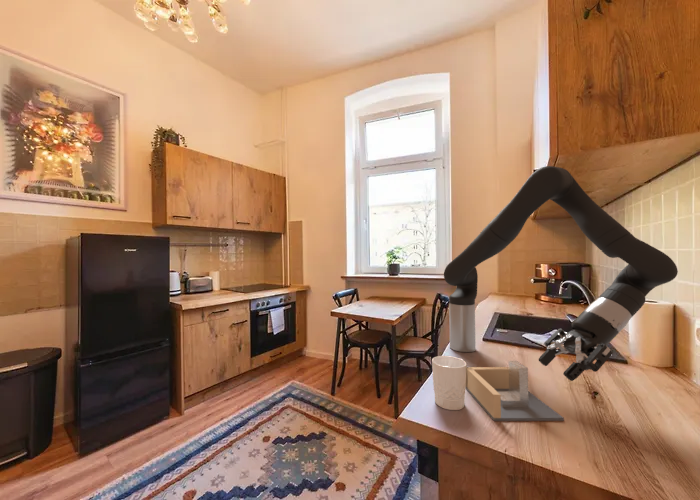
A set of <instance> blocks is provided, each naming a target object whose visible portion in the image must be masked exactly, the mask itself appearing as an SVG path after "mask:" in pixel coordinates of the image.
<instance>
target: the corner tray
mask: <svg viewBox="0 0 700 500" xmlns="http://www.w3.org/2000/svg"><path fill="white" fill-rule="evenodd" d="M465 390H466V391H467V392H468V393H469V394H470V395H471V396H472V398H473V399H474V400H475V401H476V402H477V403H478V404H479V405H480V407H481V408H482V409H483V410H484V411H485V412H486V413H487V415H488V416H489V417H490V418H491V419H492V420H493V421H494V422H537V421H539V422H546V421H547V422H548V421H549V422H550V421H551V422H553V421H554V422H555V421H556V422H559V421H560V422H562V421H565V418H564V417H563V416H562V415H561V414H559V413H558V412H557V411H555V410H554V409H553V408H551V407H550V406H549V405H547V403H545V402H543V401H542V400H541V399H540V398H538V396H536V395H535V394H533V393H532V392H530V391H529V390H528V398H529V407H502V406H501V395H500V394H499V393H498V392H506V391H509V366H495V367H494V366H487V367H483V366H478V367H477V366H472V367H471V366H469V367H467V366H466V387H465Z"/></svg>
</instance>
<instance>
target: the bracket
mask: <svg viewBox="0 0 700 500" xmlns="http://www.w3.org/2000/svg"><path fill="white" fill-rule="evenodd" d="M508 367H509V391H506V392H498V393H499V394H500V395H501V406H502V407H529V398H528V391H529V368H528V366H526V365H525V364H523V363H521V362H520V361H517V360H508Z"/></svg>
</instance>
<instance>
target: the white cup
mask: <svg viewBox="0 0 700 500" xmlns="http://www.w3.org/2000/svg"><path fill="white" fill-rule="evenodd" d="M431 367H432V381H433V382H432V385H433V392H434V393H433V394H434V403H435V404H436V405H437V406H439V407H440V408H442V409H444V410H448V411H458V410H463V408H464V407H465V394H466V367H467V362H466V361H465V360H464V359H462V358H458V357H455V356H450V355H438V356H434V357H432V359H431Z"/></svg>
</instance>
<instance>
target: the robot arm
mask: <svg viewBox="0 0 700 500" xmlns="http://www.w3.org/2000/svg"><path fill="white" fill-rule="evenodd" d="M549 200H550V201H552V202H554V203H555V204H557V205H558V206H560V207H561V208H562V209H563V210H564V211H565V212H567V214H569V215H570V217H571V218H572V219H573V220H574V222H575V223H576V225H577V226H578V228H579V229H580V231H581V232H582V234H584V235H585V236H586V238H587V239H588V240H589V241H590V242H591V243H592V244H593V245H594V246H595V247H597V248H598V250H599V251H601V252H602V253H603V254H604V255H605V256H607V257H609V258H611V259H617V258H619V259H620V260H622V261H624V262H625V263H627V265H626V266H625V267H624V268H623V269H622V270H620V272H618V274H617V275H616V277H615V278H614V280H613V281H612V283H611V284H610V286H608V287H607V288H606V289H605V290H604V291H603V292H602V293H601V294H600V295H599V296H598V297H597V298H596V299H595V300H593V301H592V302H591V303H590V304H588V306H587V307H585V309H584V310H583V311H582V312H580V314H579V315H578V316H577V317H576V318H575V319H574V320H573V321H572V322H571V328H572V329H571V330H570V331H568V332H566V331H564V330H563V329H562V328H558V329H557V330H556V331H554V333H553V334H551V335H550V336H549V337H548V338H547V339H546V340H545V341H544V343H543V345H544V346H545V348H546V350H545V351H544V352H543V353H542V354H541V355H540V356H539V358H538V362H540V364H541V365H542V366H544V367H547V366H549V364H550V363H551V362H552V361H553V360H554V359H555V358H556V357H557V356H559V355H562V354H564V355H565V354H569V353H570V354H573V355H576V356H575V357H576V358H575V361H572V363H571V364H570V365H569V366H568V367H567V368H566V369H565V370H564V371H563V375H564V377H566V379H567V380H569V381H570V382H574V380H577V378H579V376H581V374H582V373H583V372H584V371H589V370H590V371H592V372H595V373H596V372H598V371H599V370H600V369H601V368H602V366H603V365H604V364H605V363H606V362H607V361H608V360H609V358H610V357H611V356H612V355H613V353H614V352H613V351H612V350H611V349H610V347H609V346H608V345H609V344H610V343H611V342H612V341H613V340H614V338H615V337H616V336H617V335H618V334H620V332H622V330H624V329H625V327H626V326H627V324H628V323H629V322H630V320H632V318H633V317H634V315H636V314H637V313H638V312H639V311H640V310H641V308H642V307H643V306H644V304H645V303H646V300H647V299H646V296H647V295H648V294H649V293H650V292H651V291H652V290H653V289H654V288H655V289H656V287H658V286H662V285H665V284H668V283H669V282H671V281H673V280H675V278H676V277H677V275H678V274H679V273H678V272H679V271H678V266H677V264H676V263H675V261H674V260H673V259H672V258H671V257H670V256H669V255H668V254H667V253H664V252H663V251H661V250H659V249H658V248H656V247H654V246H653V245H650V244H649V243H647V242H645V241H643V240H641V239H638V238H637V237H635V236H634V235H633V233H631V232H630V231H629V230H628V229H627V228H626V227H624V226H623V225H622V224H621V223H620V222H618V220H616V219H615V218H614V217H613V216H611V215H610V214H609V213H608V212H606V211H605V210H604V209H603V208H602V207H601V206H599V205H598V204H597V203H596V202H595V201H594V200H593V198H591V197H590V196H589V195H588V194H587V193H586V192H585V190H584V189H583V188H582V187H581V185H580V184H579V183H578V182H577V180H576V179H575V177H574V176H573V175H572V174H571V172H570V171H568V169H566V168H563V167H559V166H552V165H547V166H543V167H540V168H538V169H536V170H535V171H534V172H532V173H531V174H530V176H529V177H528V178H527V179H526V181H525V182H524V183H523V185H522V186H521V187H520V188H519V190H518V192H516V194H515V195H514V197H513V198H512V199H511V200H510V201H509V202H508V203H507V204H506V205H505V206H504V207H503V208H502V209H501V211H499V212H498V214H497V215H496V216H495V217H493V218H492V220H491V221H490V222H489V223H488V224H487V225H486V226H485V227H484V228H483V229H482V230H481V232H480V233H479V234H478V235H477V236H476V237H475V238H474V239H473V240H472V241H471V242H470V243H469V245H468V246H467V247H466V248H465V249H464V250H462V252H460V253H459V254H458V255H457V256H456V257H454V259H452V261H450V262H449V263H448V264H447V266H446V267H445V269H444V272H443V278H444V281H445V282H446V284H448V285H450V286H452V287H456V288H455V290H454V291H453V293H451V294H450V295H449V297H448V311H449V316H448V317H449V322H448V323H449V348H450V349H451V350H453V351H456V352H461V353H471V352H472V353H473V352H475V351H476V348H477V347H476V299H477V295H478V278H479V277H478V275H479V274H478V270H477V268H476V267H477V266H478V265H480V264H481V263H483V262H485V261H487V260H490V259H491V258H492V257H494V256H496V255H497V254H500V253H501V252H502V251H503V250H505V249H506V248H508V246H509V245H511V243H512V242H513V241H514V240H516V238H517V237H518V236H519V234H520V233H521V231H522V230H523V228H524V226H525V224H526V223H527V221H528V219H529V218H530V216H532V214H533V213H535V212H536V211H537V210H538V209H539V208H541V207H542V206H543V205H544V204H545V203H546V202H548V201H549ZM553 342H554V343H553ZM595 360H596V361H595ZM594 361H595V362H594Z"/></svg>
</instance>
